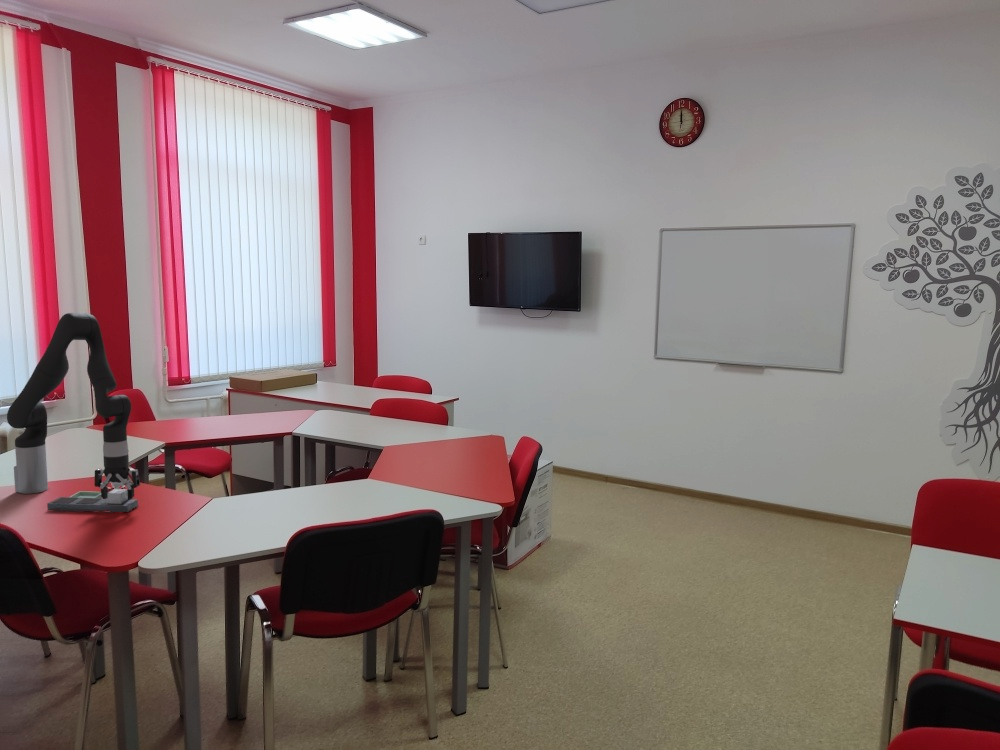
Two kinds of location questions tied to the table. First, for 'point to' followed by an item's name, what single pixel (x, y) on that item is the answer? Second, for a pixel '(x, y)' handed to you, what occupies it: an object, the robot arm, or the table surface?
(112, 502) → the light grey block
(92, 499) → the dark grey organizer
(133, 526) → the table surface
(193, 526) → the table surface
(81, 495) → the tray
